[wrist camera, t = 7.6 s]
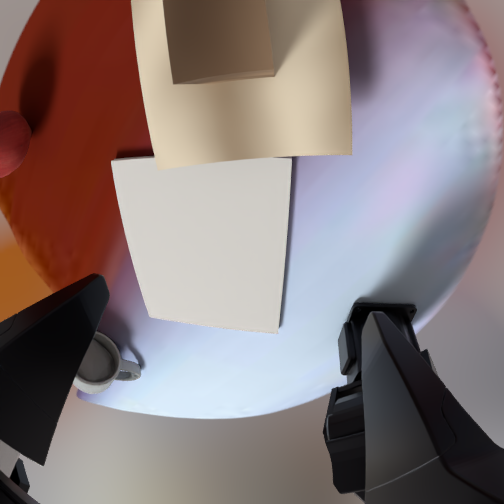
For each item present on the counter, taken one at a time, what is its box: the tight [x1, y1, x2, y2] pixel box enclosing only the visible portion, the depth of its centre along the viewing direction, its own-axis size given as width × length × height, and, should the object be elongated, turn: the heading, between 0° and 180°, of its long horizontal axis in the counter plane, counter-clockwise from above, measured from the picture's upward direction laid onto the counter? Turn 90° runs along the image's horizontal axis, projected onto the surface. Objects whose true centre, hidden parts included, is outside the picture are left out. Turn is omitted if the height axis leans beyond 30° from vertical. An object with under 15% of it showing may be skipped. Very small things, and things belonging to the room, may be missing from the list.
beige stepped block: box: [131, 0, 352, 171], centre depth 8 cm, size 10×13×6 cm
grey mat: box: [111, 156, 292, 334], centre depth 22 cm, size 13×16×1 cm
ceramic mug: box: [73, 331, 141, 394], centre depth 31 cm, size 11×8×8 cm
